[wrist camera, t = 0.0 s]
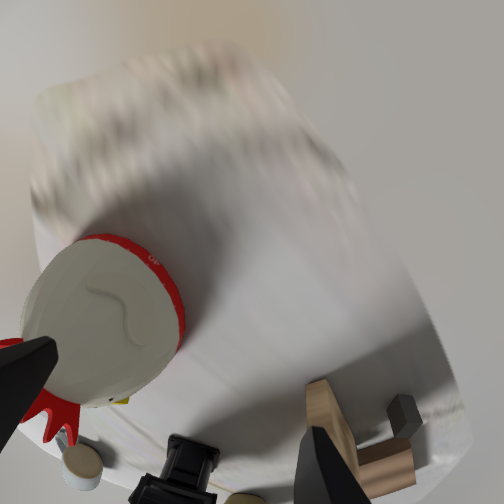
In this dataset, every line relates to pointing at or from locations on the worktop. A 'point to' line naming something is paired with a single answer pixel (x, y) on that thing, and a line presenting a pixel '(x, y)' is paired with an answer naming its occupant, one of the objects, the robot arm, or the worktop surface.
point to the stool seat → (386, 467)
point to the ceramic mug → (79, 464)
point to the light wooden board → (331, 422)
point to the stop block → (404, 416)
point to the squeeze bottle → (244, 499)
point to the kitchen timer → (100, 327)
